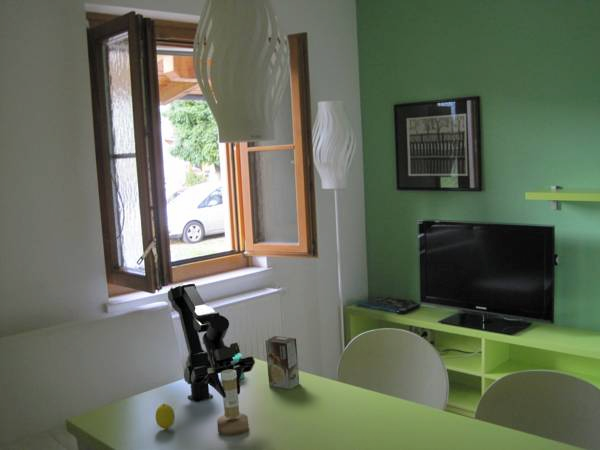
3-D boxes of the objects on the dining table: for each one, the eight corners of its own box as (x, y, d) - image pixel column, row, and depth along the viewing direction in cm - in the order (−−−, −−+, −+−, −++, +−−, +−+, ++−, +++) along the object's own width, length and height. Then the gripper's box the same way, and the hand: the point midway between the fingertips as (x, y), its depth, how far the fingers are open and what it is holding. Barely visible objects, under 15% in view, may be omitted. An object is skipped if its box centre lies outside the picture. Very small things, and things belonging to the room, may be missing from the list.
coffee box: (300, 383, 230) (297, 338, 228) (290, 389, 225) (287, 343, 223) (278, 379, 235) (274, 335, 233) (267, 386, 230) (264, 340, 228)
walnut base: (212, 429, 198) (211, 419, 197) (237, 420, 203) (236, 410, 203) (228, 438, 191) (227, 428, 190) (254, 428, 196) (253, 419, 196)
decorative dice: (244, 379, 237) (243, 358, 236) (222, 382, 236) (220, 360, 235) (242, 372, 245) (240, 351, 244) (220, 375, 244) (218, 354, 243)
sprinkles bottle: (239, 411, 199) (236, 368, 197) (239, 418, 195) (236, 373, 193) (224, 413, 199) (220, 369, 197) (223, 419, 194) (220, 374, 192)
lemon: (171, 433, 197) (169, 407, 196) (153, 433, 198) (151, 407, 197) (178, 425, 202) (176, 400, 201) (161, 425, 203) (158, 399, 202)
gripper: (190, 341, 193) (206, 390, 185) (250, 329, 201) (267, 375, 193) (184, 360, 201) (199, 407, 193) (242, 347, 209) (258, 392, 201)
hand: (231, 395), depth 195 cm, fingers closed on sprinkles bottle, 4 cm apart
